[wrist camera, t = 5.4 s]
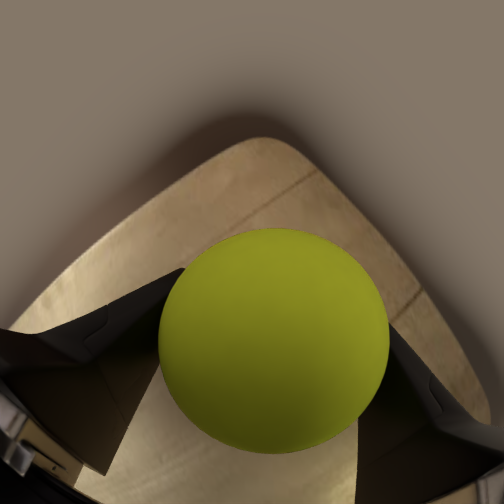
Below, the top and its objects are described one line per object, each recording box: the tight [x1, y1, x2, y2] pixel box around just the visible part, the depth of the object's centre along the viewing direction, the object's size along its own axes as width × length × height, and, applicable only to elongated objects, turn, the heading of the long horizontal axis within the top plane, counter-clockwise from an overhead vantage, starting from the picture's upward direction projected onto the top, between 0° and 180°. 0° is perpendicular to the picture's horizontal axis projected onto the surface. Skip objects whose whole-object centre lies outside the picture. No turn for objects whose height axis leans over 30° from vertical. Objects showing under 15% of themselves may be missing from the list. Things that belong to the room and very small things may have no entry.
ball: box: [158, 228, 390, 454], centre depth 8 cm, size 7×7×7 cm
